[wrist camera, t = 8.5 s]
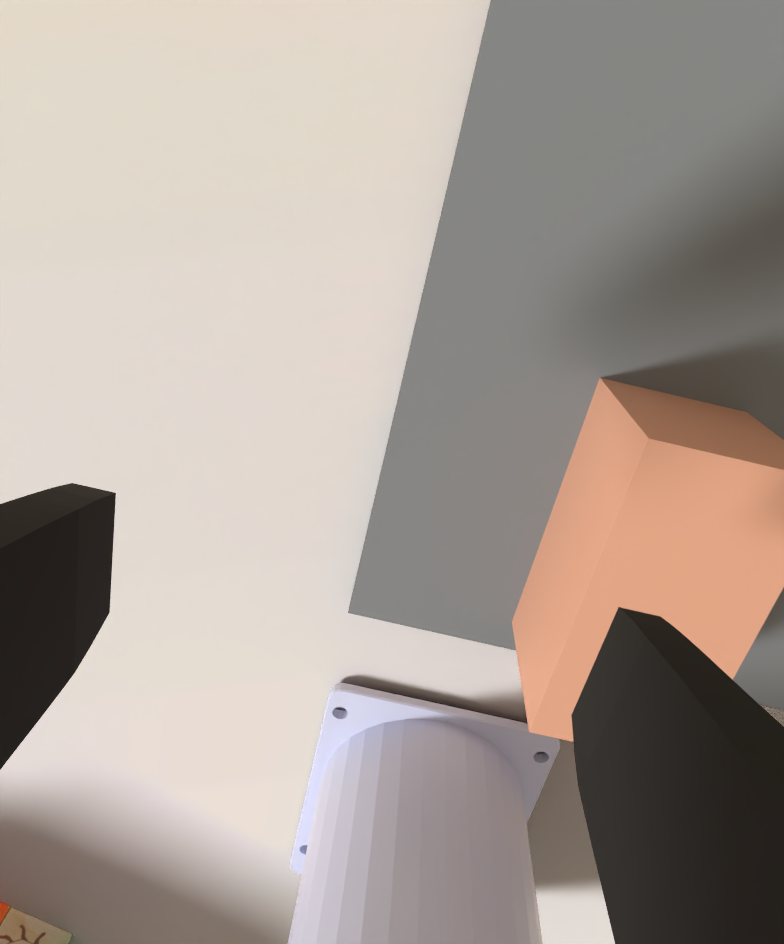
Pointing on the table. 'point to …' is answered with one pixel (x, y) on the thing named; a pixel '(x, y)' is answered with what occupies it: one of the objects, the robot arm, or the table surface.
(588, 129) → the mat
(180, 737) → the table surface
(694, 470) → the terracotta brick
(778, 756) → the robot arm
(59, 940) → the stack of blocks
